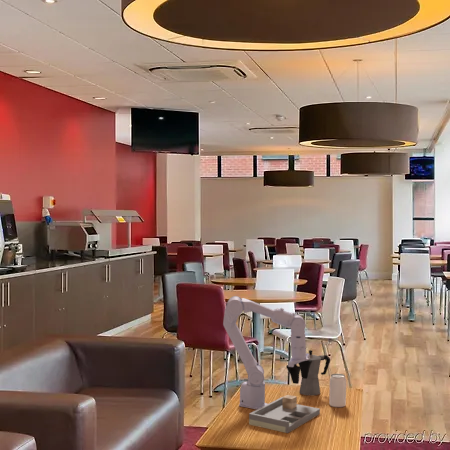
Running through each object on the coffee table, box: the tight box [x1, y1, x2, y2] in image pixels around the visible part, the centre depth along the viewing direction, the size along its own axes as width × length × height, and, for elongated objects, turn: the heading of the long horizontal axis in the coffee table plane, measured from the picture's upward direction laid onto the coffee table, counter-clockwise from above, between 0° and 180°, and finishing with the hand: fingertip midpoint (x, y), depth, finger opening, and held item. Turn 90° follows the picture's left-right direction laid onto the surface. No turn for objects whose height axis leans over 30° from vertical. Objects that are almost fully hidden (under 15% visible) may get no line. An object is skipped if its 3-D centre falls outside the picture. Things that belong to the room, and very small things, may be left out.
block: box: [282, 394, 298, 409], centre depth 284 cm, size 4×4×4 cm
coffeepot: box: [299, 349, 331, 397], centre depth 310 cm, size 15×9×18 cm, turn 103°
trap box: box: [248, 396, 321, 434], centre depth 276 cm, size 16×26×4 cm, turn 147°
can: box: [328, 373, 347, 408], centre depth 294 cm, size 6×6×12 cm
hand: (300, 380), depth 290 cm, fingers open, 7 cm apart
